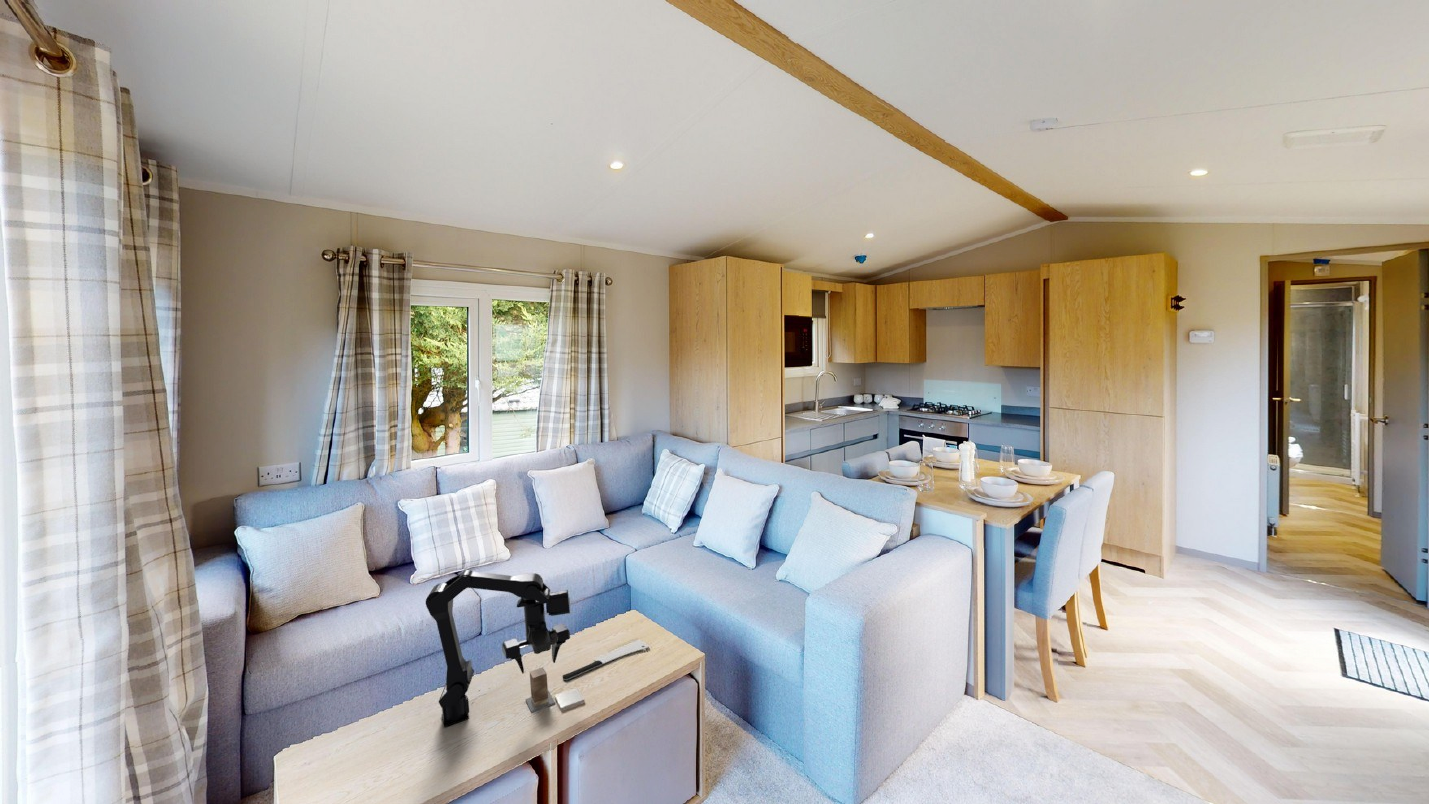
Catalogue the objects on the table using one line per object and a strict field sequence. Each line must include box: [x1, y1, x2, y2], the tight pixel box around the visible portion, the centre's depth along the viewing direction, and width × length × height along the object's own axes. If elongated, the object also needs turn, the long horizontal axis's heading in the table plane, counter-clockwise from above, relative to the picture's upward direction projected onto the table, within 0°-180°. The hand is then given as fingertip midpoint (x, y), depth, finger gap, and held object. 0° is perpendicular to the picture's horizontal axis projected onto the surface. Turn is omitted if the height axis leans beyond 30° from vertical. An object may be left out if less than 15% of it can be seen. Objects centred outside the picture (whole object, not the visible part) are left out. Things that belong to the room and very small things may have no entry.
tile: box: [554, 687, 585, 712], centre depth 163 cm, size 7×2×7 cm
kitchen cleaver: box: [562, 639, 650, 682], centre depth 185 cm, size 31×2×10 cm
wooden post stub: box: [529, 666, 549, 707], centre depth 163 cm, size 4×4×9 cm
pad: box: [525, 690, 556, 713], centre depth 163 cm, size 7×7×1 cm
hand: (538, 667), depth 162 cm, fingers open, 9 cm apart
